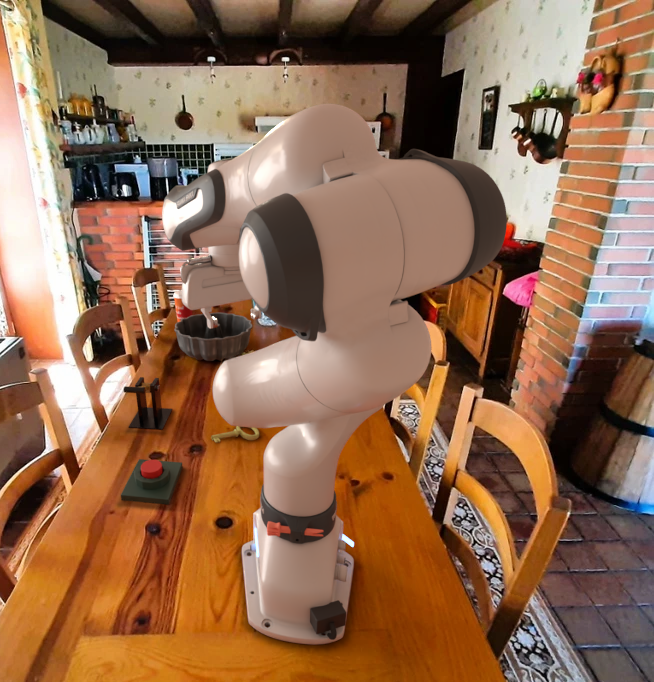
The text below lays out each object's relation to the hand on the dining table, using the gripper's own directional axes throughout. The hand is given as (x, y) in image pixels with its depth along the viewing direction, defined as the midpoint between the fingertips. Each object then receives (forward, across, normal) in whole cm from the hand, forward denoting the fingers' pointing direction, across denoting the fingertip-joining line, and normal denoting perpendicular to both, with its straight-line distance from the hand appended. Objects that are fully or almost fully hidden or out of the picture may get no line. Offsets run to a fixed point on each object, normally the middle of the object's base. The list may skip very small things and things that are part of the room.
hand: (234, 322), depth 94 cm
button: (+31, -19, +2) cm, 36 cm away
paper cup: (+34, +21, +89) cm, 97 cm away
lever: (+23, -15, +23) cm, 36 cm away
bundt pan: (+34, +21, +60) cm, 73 cm away
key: (+34, +5, +11) cm, 36 cm away
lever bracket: (+34, -12, +27) cm, 45 cm away
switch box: (+34, -19, +2) cm, 39 cm away
